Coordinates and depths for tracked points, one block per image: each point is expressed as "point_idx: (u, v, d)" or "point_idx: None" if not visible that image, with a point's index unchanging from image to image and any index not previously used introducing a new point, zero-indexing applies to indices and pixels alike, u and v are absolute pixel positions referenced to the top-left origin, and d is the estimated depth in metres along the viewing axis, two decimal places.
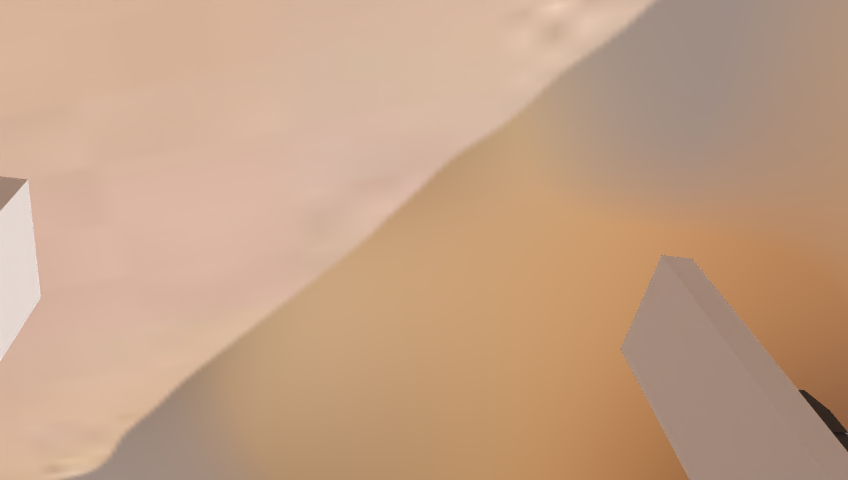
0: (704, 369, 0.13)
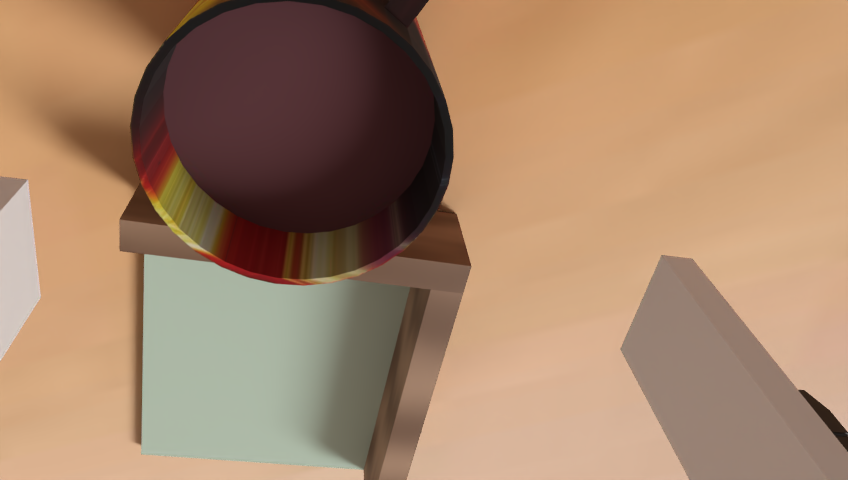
0: (704, 369, 0.13)
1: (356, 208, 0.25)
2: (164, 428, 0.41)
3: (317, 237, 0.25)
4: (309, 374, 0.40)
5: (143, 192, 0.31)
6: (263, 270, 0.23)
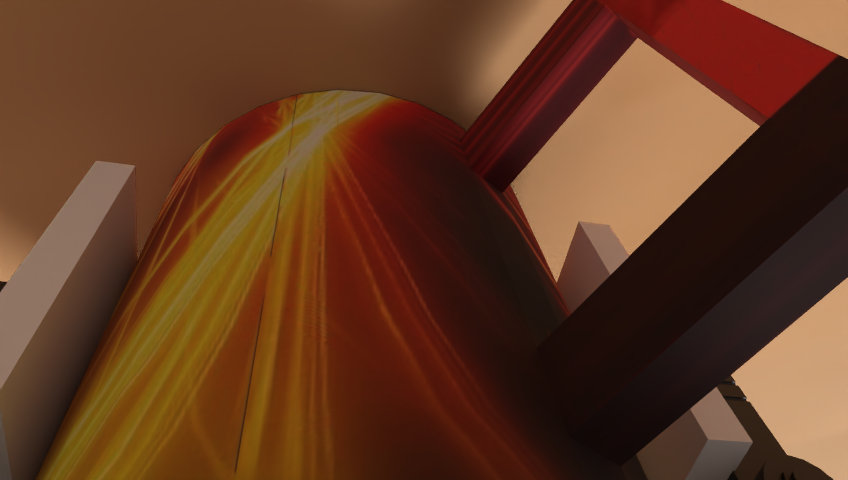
0: None
1: None
2: None
3: None
4: None
5: None
6: None
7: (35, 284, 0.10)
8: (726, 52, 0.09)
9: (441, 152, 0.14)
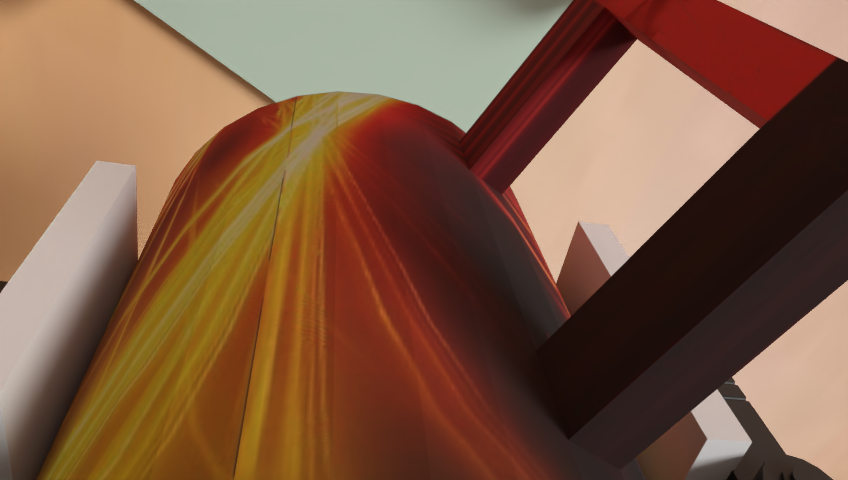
0: None
1: None
2: None
3: None
4: None
5: None
6: None
7: (36, 284, 0.10)
8: (725, 54, 0.09)
9: (440, 154, 0.14)
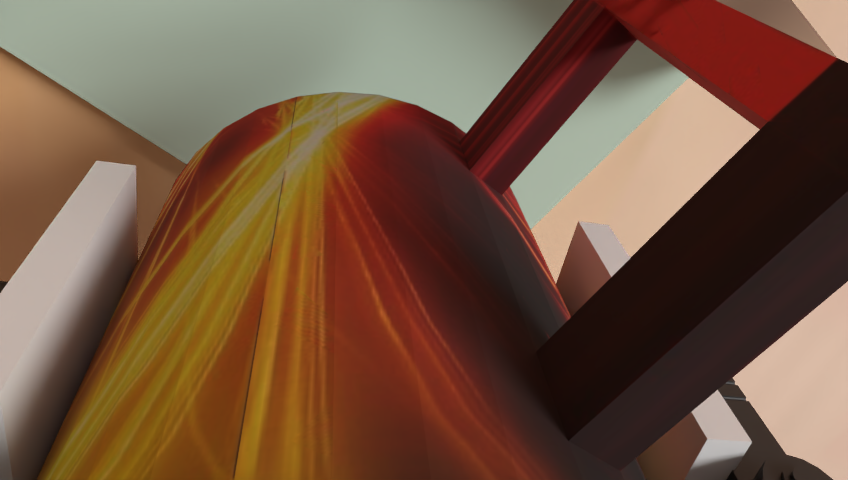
0: None
1: None
2: None
3: None
4: (446, 8, 0.21)
5: None
6: None
7: (36, 284, 0.10)
8: (725, 55, 0.09)
9: (440, 154, 0.14)
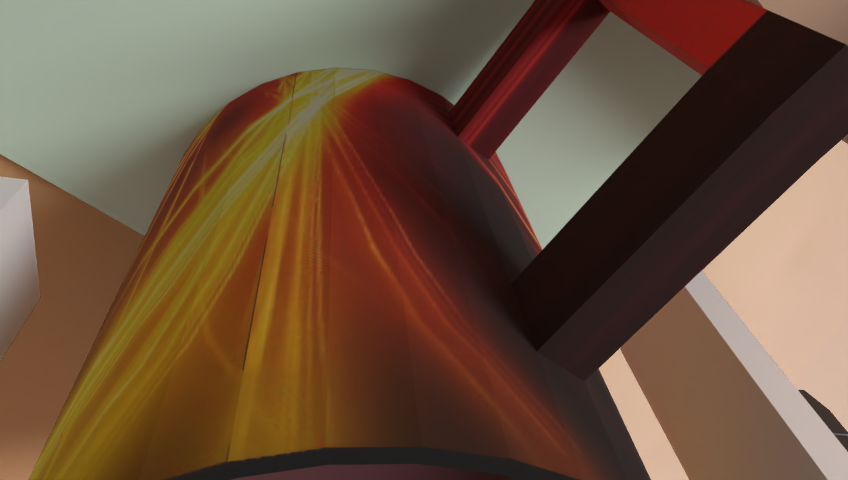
0: (704, 369, 0.13)
1: None
2: None
3: None
4: (471, 57, 0.17)
5: None
6: None
7: None
8: (678, 14, 0.10)
9: (430, 122, 0.15)
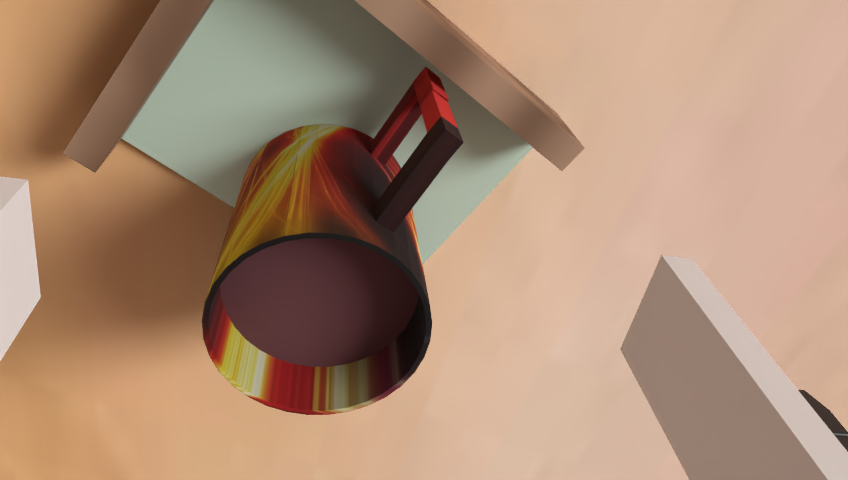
0: (704, 369, 0.13)
1: (365, 347, 0.33)
2: None
3: (337, 370, 0.33)
4: (380, 118, 0.37)
5: None
6: (298, 405, 0.31)
7: None
8: (428, 113, 0.30)
9: (359, 148, 0.35)
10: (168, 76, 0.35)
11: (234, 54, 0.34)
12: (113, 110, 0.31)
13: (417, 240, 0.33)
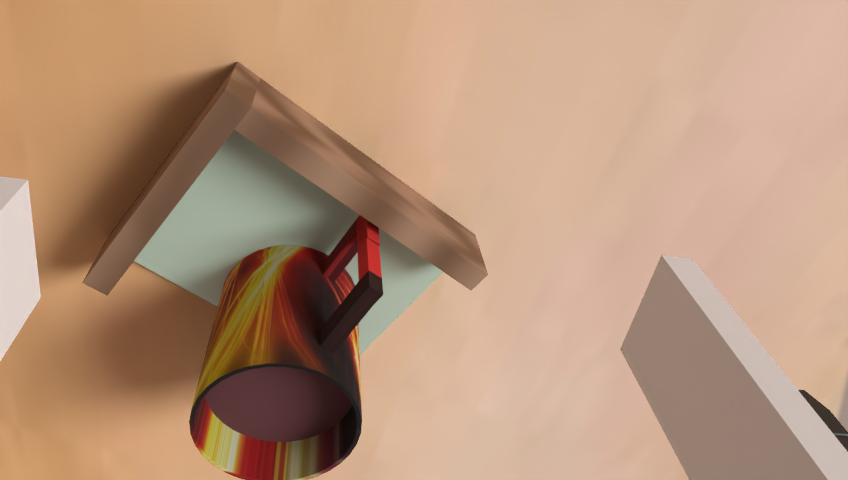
0: (704, 369, 0.13)
1: (316, 427, 0.43)
2: None
3: (294, 445, 0.43)
4: (332, 241, 0.47)
5: (98, 255, 0.43)
6: (262, 476, 0.41)
7: None
8: (361, 261, 0.40)
9: (313, 269, 0.45)
10: None
11: (215, 197, 0.44)
12: (121, 253, 0.40)
13: (356, 346, 0.43)
